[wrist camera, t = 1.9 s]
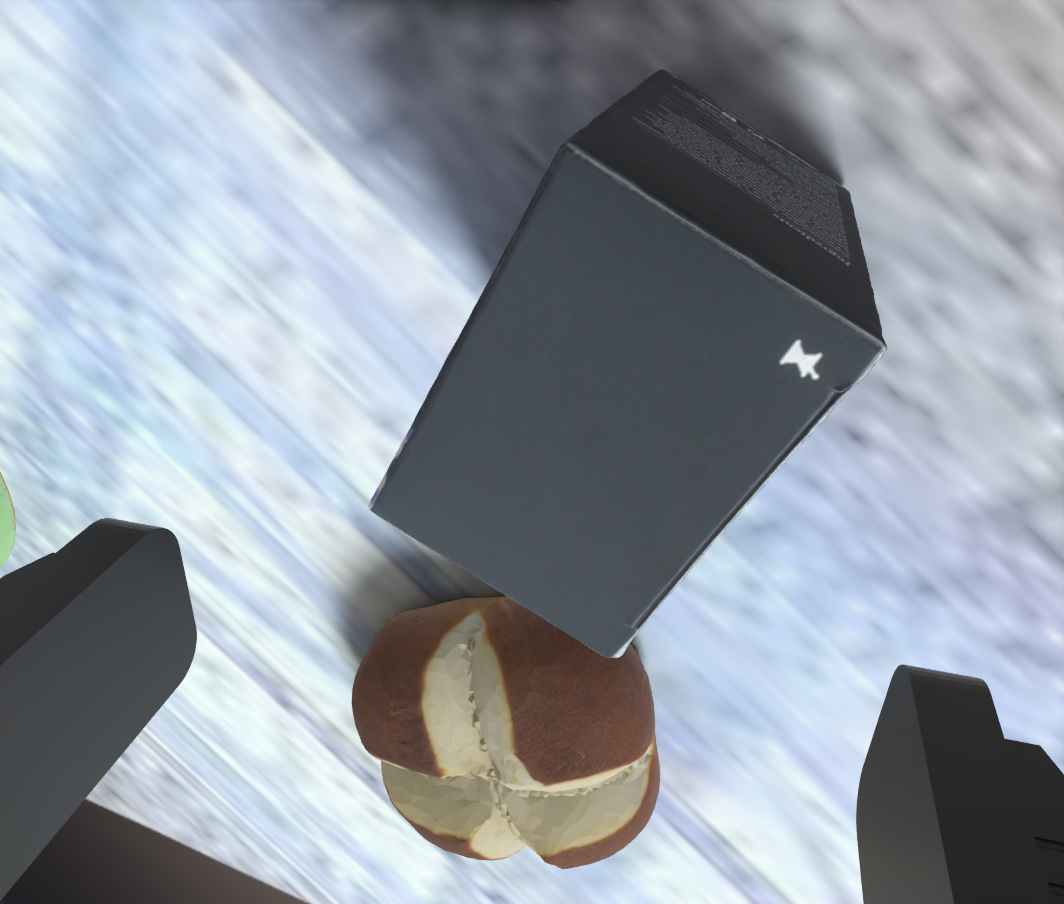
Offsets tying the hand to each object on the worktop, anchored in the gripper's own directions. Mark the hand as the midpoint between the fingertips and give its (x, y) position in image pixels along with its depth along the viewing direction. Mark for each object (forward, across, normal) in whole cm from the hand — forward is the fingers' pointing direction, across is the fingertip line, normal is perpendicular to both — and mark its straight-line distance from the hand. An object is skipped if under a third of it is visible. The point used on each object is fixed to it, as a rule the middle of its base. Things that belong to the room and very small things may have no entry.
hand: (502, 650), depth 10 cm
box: (+16, 0, 0) cm, 16 cm away
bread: (+16, +4, +17) cm, 24 cm away
